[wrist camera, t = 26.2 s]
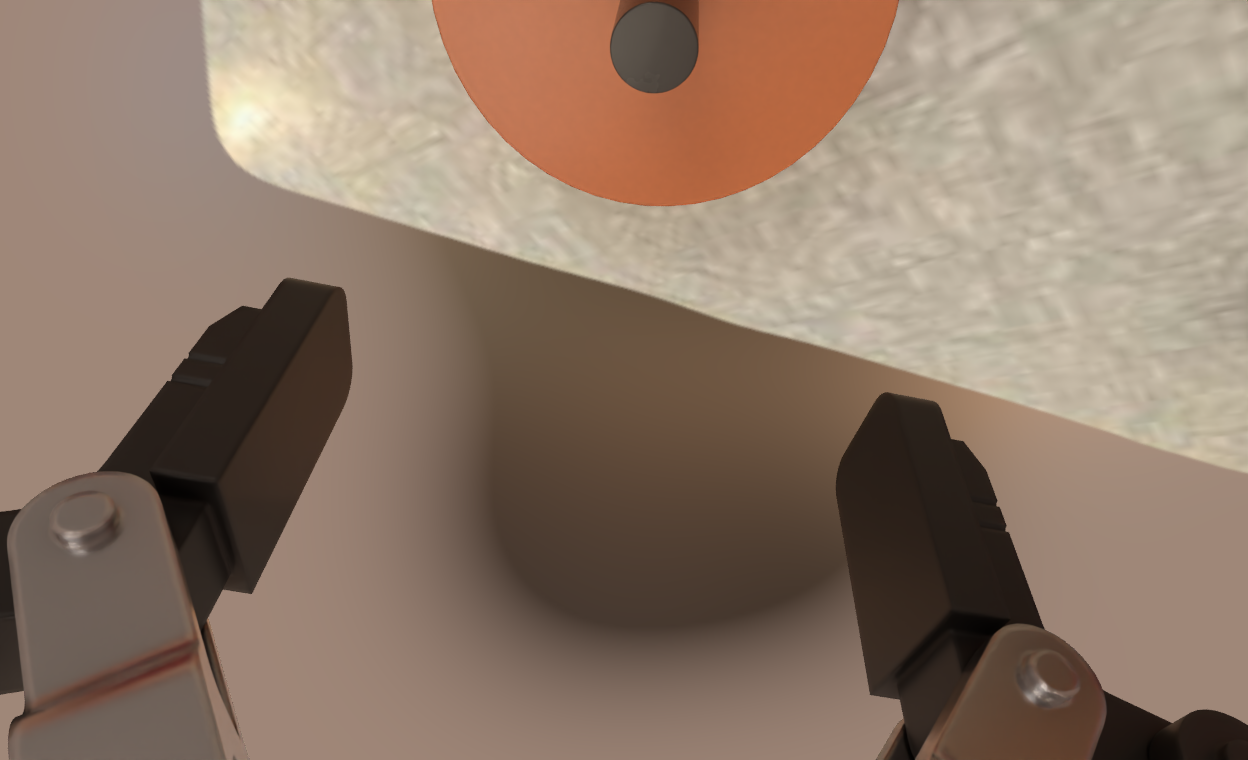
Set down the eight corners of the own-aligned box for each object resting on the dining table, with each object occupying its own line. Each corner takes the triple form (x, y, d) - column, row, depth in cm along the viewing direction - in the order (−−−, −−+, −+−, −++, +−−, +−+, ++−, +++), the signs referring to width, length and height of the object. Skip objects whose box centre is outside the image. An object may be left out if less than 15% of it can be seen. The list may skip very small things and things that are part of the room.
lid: (436, -392, 20) (362, -414, 16) (994, -250, 21) (1073, -233, 17) (433, 151, 31) (388, 229, 27) (803, 226, 32) (819, 313, 28)
